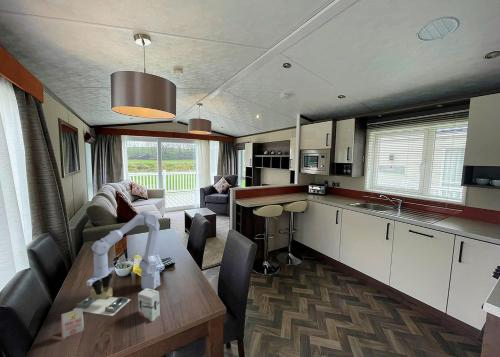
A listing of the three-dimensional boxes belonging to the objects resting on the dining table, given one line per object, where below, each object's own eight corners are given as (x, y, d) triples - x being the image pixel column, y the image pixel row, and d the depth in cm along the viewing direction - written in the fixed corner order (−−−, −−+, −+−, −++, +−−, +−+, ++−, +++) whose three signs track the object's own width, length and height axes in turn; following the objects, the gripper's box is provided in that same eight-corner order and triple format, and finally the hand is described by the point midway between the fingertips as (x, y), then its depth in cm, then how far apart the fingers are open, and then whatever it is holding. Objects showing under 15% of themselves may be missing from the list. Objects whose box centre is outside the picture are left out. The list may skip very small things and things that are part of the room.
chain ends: (127, 301, 110) (127, 297, 110) (114, 313, 101) (114, 309, 101) (92, 296, 113) (92, 293, 113) (76, 307, 105) (76, 303, 104)
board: (131, 301, 111) (130, 299, 111) (112, 317, 100) (112, 315, 99) (94, 296, 115) (94, 294, 115) (72, 311, 103) (72, 309, 103)
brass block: (112, 295, 108) (112, 287, 108) (106, 299, 104) (106, 291, 104) (97, 293, 109) (96, 285, 109) (90, 297, 106) (90, 289, 106)
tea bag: (63, 334, 90) (62, 311, 89) (83, 327, 94) (82, 305, 93) (61, 340, 87) (60, 317, 86) (83, 333, 91) (81, 310, 90)
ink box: (138, 317, 100) (137, 293, 99) (146, 310, 105) (146, 287, 104) (152, 322, 97) (151, 297, 96) (160, 315, 102) (159, 291, 101)
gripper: (106, 258, 113) (107, 282, 114) (80, 271, 99) (81, 299, 100) (117, 259, 112) (118, 284, 113) (93, 273, 98) (94, 301, 99)
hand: (102, 291), depth 107 cm, fingers closed on brass block, 4 cm apart
